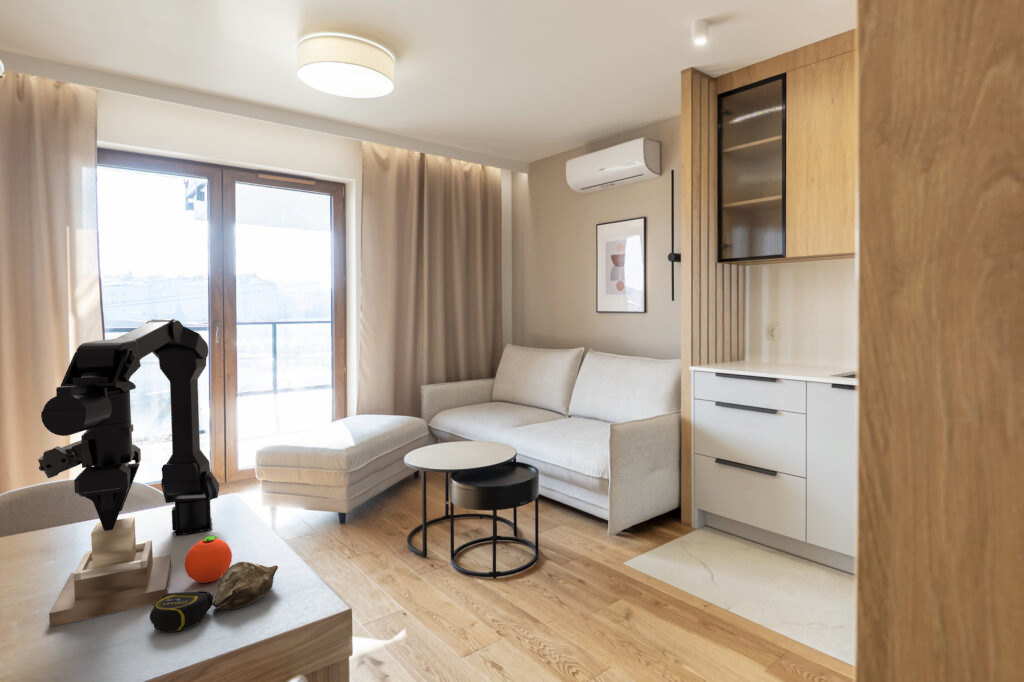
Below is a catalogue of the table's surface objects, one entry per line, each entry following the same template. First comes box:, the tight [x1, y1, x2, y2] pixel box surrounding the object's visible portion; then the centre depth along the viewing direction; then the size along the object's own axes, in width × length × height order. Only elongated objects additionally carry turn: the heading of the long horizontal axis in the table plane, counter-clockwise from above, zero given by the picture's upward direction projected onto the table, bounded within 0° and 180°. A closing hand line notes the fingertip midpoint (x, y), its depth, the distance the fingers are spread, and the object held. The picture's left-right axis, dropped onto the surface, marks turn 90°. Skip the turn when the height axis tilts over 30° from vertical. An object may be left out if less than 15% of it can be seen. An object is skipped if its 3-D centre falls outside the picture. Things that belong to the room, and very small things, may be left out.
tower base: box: [48, 539, 172, 628], centre depth 88 cm, size 14×14×6 cm
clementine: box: [183, 535, 233, 584], centre depth 92 cm, size 8×7×7 cm
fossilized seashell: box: [212, 561, 279, 610], centre depth 86 cm, size 8×7×10 cm
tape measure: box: [149, 590, 214, 633], centre depth 79 cm, size 7×7×4 cm
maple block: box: [90, 516, 137, 569], centre depth 88 cm, size 5×5×6 cm
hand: (113, 520), depth 87 cm, fingers open, 9 cm apart
